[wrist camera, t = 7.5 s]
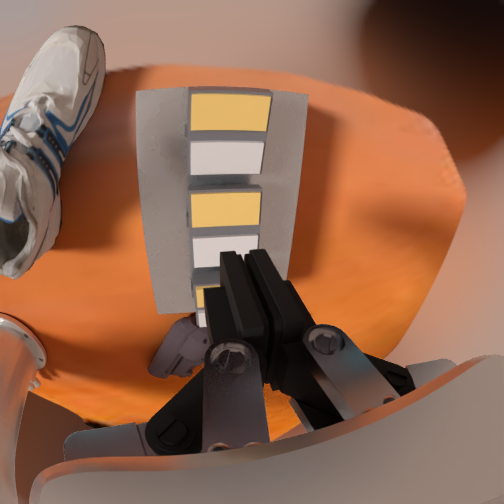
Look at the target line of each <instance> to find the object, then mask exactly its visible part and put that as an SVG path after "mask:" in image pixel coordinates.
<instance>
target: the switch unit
mask: <svg viewBox="0 0 504 504" xmlns="http://www.w3.org/2000/svg"><path fill="white" fill-rule="evenodd" d="M188 88H189V87H180V88H163V89H151V90H141V91H136V149H137V168H138V182H139V194H140V204H141V213H142V222H143V230H144V237H145V245H146V251H147V258H148V264H149V270H150V276H151V281H152V287H153V292H154V297H155V302H156V307H157V311H158V314H171V313H188V312H196V311H195V302H194V291H193V279H192V273H197V272H212V271H220V266H218V267H203V268H192V266H191V251H190V234H189V212H188V186H200V185H235V184H259V185H260V186H261V187H262V188H263V192H262V208H261V224H260V240H259V249H265V250H266V251H267V253H268V255H269V257H270V258H271V260H272V262H273V264H274V265H275V267H276V269H277V271H278V272H279V274H280V276H281V278H282V279H283V280H286V279H287V272H288V266H289V259H290V252H291V246H292V238H293V231H294V224H295V217H296V209H297V201H298V193H299V185H300V176H301V168H302V159H303V149H304V140H305V130H306V119H307V108H308V96H309V95H308V94H301V93H294V92H286V91H277V90H270V91H271V92H273V100H272V106H271V113H270V120H269V126H268V133H267V140H266V146H265V153H264V160H263V166H262V173H261V174H222V175H191V176H188V171H187V116H188Z"/></svg>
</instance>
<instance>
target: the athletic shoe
mask: <svg viewBox="0 0 504 504" xmlns="http://www.w3.org/2000/svg"><path fill="white" fill-rule="evenodd" d="M104 77H105V51H104V44H103V43H102V41H101V39H100V38H99V36H98V34H97V33H96V32H94V31H92V30H90V29H88V28H86V27H83V26H77V25H75V26H68V27H64V28H63V29H62V30H60V31H57V32H56V33H54V34H53V35H52V36H51V37H50V38H49V39H48V40H47V41H46V42H45V43H44V45H43V46H42V47H41V49H40V50H39V52H38V53H37V54H36V56H35V57H34V59H33V60H32V62H31V63H30V65H29V66H28V68H27V70H26V71H25V73H24V75H23V77H22V80H21V82H20V85H19V87H18V89H17V91H16V93H15V95H14V97H13V99H12V101H11V104H10V106H9V108H8V110H7V113H6V115H5V118H4V120H3V123H2V125H1V128H0V274H1V275H3V276H7V277H10V278H13V279H14V280H15V279H18V278H20V277H21V276H22V275H23V274H24V273H25V272H27V271H28V270H29V269H30V268H31V267H32V266H33V264H34V262H35V261H36V260H37V259H39V258H40V257H41V256H42V255H43V254H44V253H45V252H47V251H49V250H50V249H51V248H52V247H53V246H54V244H55V238H56V237H57V235H58V234H59V231H60V228H61V224H62V220H61V217H62V204H61V199H60V190H59V186H58V182H59V179H60V176H61V173H60V170H61V168H62V166H63V164H64V161H65V159H66V157H67V154H68V152H69V150H70V148H71V146H72V144H73V142H74V141H75V140H76V139H77V137H78V136H79V135H80V133H81V132H82V131H83V130H84V128H85V126H86V125H87V123H88V121H89V119H90V117H91V116H92V115H93V113H94V110H95V108H96V106H97V105H98V99H99V97H100V95H101V93H102V90H103V86H104V83H103V80H104Z"/></svg>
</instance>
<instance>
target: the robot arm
mask: <svg viewBox="0 0 504 504" xmlns="http://www.w3.org/2000/svg"><path fill="white" fill-rule="evenodd" d="M203 296H204V309H205V319H206V326H207V332H208V338H209V344H210V346H209V348H208V349H207V350H206V353H205V357H204V368H203V369H202V370H201V371H200V372H199V373H198V374H197V375H196V376H195V377H194V378H193V379H191V380H190V381H189V382H188V383H187V384H186V385H185V386H184V387H183V388H182V389H181V390H180V391H179V392H178V393H177V394H176V395H175V396H174V397H173V398H172V399H171V400H170V401H169V402H168V403H167V404H166V405H164V406H163V407H162V408H161V409H160V410H159V411H158V412H157V413H156V414H155V415H154V416H153V417H152V418H151V419H150V420H149V422H146V423H141V424H136V423H135V422H133V423H128V424H123V425H118V426H112V427H106V428H100V429H94V430H86V431H79V432H76V433H72V434H71V435H70V436H69V437H68V438H67V439H66V441H65V443H64V457H65V462H63V463H60V464H56V465H54V466H51V467H49V468H47V469H45V470H44V471H42V472H41V473H40V474H39V475H38V476H37V477H36V479H35V481H34V483H33V486H32V489H31V494H30V501H29V504H504V356H501V355H484V356H479V357H476V358H472V359H470V360H468V361H465V362H464V363H462V364H460V365H458V366H456V364H455V363H453V362H452V361H451V360H448V359H439V360H434V361H429V362H424V363H419V364H412V365H406V367H405V368H403V367H401V366H399V365H397V364H394V363H391V362H388V361H385V360H382V359H379V358H376V357H374V356H371V355H368V354H365V353H362V352H361V350H360V349H359V348H358V347H357V346H356V345H355V344H354V342H353V341H352V340H351V339H350V338H349V337H348V336H347V335H346V333H344V332H343V331H342V330H341V329H339V328H337V327H335V326H332V325H328V324H319V325H316V324H315V322H314V320H313V319H312V317H311V315H310V314H309V312H308V310H307V308H306V307H305V305H304V303H303V302H302V300H301V298H300V297H299V295H298V293H297V292H296V290H295V288H294V287H293V285H292V283H291V282H290V281H289V280H283V279H282V278H281V276H280V274H279V272H278V271H277V269H276V267H275V265H274V264H273V262H272V260H271V258H270V257H269V255H268V253H267V251H266V250H265V249H252V250H250V251H249V254H245V255H244V260H243V258H242V255H241V254H236V252H235V251H223V252H220V287H210V288H203ZM46 360H47V355H46V351H45V349H44V347H43V345H42V343H41V342H40V341H39V339H38V338H37V337H36V336H35V335H34V334H33V332H32V331H31V330H29V329H28V328H27V327H26V326H25V325H23V324H22V323H21V322H19V321H18V320H16V319H14V318H12V317H10V316H8V315H5V314H1V313H0V504H18V499H17V493H16V485H15V473H14V472H15V471H14V466H15V451H16V444H17V438H18V432H19V427H20V422H21V417H22V412H23V408H24V404H25V399H26V396H27V392H28V390H30V391H31V390H33V389H34V388H35V386H36V387H40V385H41V383H40V381H39V380H38V379H37V378H36V373H37V370H39V369H42V368H43V367H44V366H45V363H46ZM264 382H265V384H268V383H270V385H271V388H272V391H275V390H280V391H281V392H282V393H284V394H286V395H287V398H288V401H289V403H290V405H291V406H292V408H293V409H294V411H295V413H296V414H297V416H298V418H299V419H300V421H301V423H302V424H303V426H304V427H305V429H306V431H307V432H308V433H305V434H302V435H298V436H295V437H291V438H286V439H282V440H278V441H274V442H270V437H269V430H268V423H267V416H266V409H265V402H264V395H263V388H264Z"/></svg>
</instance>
